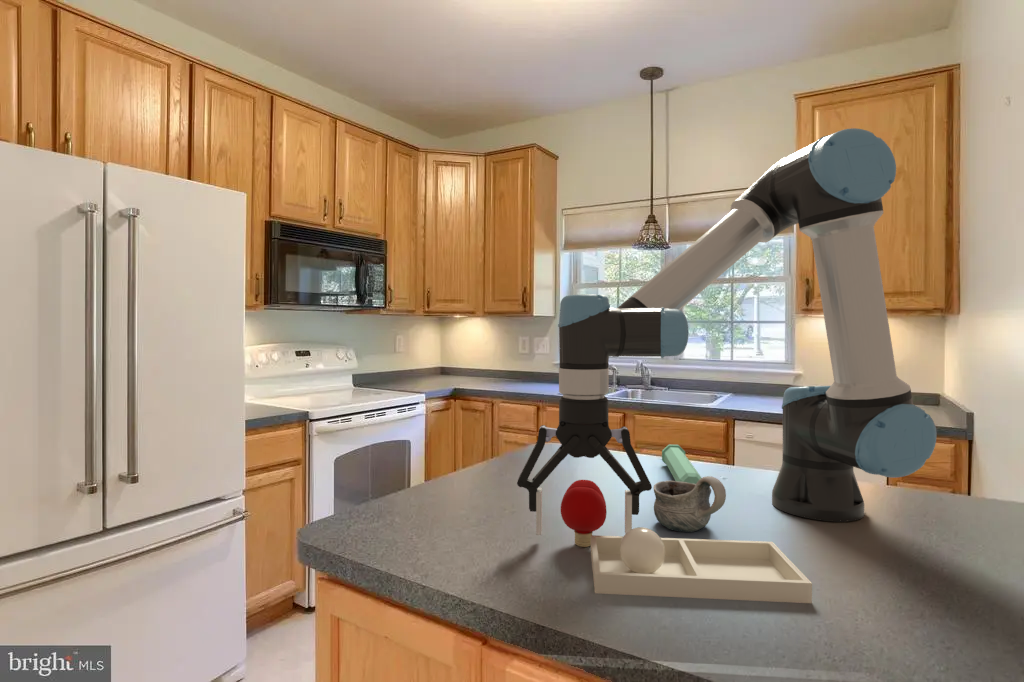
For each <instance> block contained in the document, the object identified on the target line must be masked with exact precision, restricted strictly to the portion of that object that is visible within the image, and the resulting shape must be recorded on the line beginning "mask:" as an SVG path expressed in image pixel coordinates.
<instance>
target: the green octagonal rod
mask: <svg viewBox="0 0 1024 682" xmlns="http://www.w3.org/2000/svg"><path fill="white" fill-rule="evenodd" d="M661 461H662V462H663V463H664V464H665V465H666V466H667V468H668V470H669V471H670V473H671V475H672V477H673V479H674V481H679V482H687V483H692V484H696V483H697V482H698V481H699V480H700V479H701V478H702V476H701V475H700V473H699V472H698V471H697V469H696V468H695V466H694V465H693V464H692V463H691V461H690V460H689V458H688V457H687V456H686V451H685V449H683V448H682V447H681V446H680V445H679V444H667V446H666V447H664V448H663V449H661Z"/></svg>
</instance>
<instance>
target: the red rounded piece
mask: <svg viewBox="0 0 1024 682" xmlns="http://www.w3.org/2000/svg"><path fill="white" fill-rule="evenodd" d="M560 514H561V516H560V517H561V518H562V520H563V522H564V525H566V527H568V528H569V529H571V530H572V531H574V544H575V545H577V546H578V547H581V548H588V547H591V535H593V532H596V531H597V530H599V529H600V528H601V527H602V526H604V524H605V522H606V519H607V502H606V499H605V496H604V494H603V491H602V490H601V488H600V487H599V486H598V485H597V484H596V483H595V482H594V481H592V480H588V479H578V480H576V481H574V482H572V483H571V484H570V485H569V486H568V488H567V489H566V490H565V493H564V495H563V497H562V500H561V504H560Z"/></svg>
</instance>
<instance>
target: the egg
mask: <svg viewBox="0 0 1024 682" xmlns="http://www.w3.org/2000/svg"><path fill="white" fill-rule="evenodd" d="M623 536H624V537H623V538H622V540H621V544H620V554H621V558H622V560H623V562H624V564H625V565H626V566H627V567H628V568H629V569H630V570H632V571H633V572H635V573H640V574H651V573H653V572H655V571H657V570H658V569H659V568H660V567H661V565H662V564H663V561H664V558H665V547H664V544H663V542H662V540H661V538H662V537H661V536H659V535H658V533H656V532H655V531H654V530H653V529H650V528H648V527H644V526H641V527H634V528H632V529H631V530H630V531H628V532H627V533H626V534H625V533H624V535H623Z"/></svg>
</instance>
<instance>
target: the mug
mask: <svg viewBox="0 0 1024 682" xmlns="http://www.w3.org/2000/svg"><path fill="white" fill-rule="evenodd" d="M712 491H713V494H714V499H713V502H712V504H711V503H710V496H711V493H712ZM726 492H727V491H726V488H725V486H724V484H723V482H722V481H721V480H720V479H719V478H717V477H714V476H711V475H710V476H702V477H701V479H700V480H699V481H698V482H697V483H696V484H692V483H687V482H679V481H675V480H664V481H659V482H658V481H657V482H656V483H654V485H653V493H654V496H655V499H654V503H653V505H654V506H653V513H654V515H655V518H656V520H657V522H658V523H659V524H661V525H662V526H663V527H665V528H666V529H669V530H672V531H673V532H674V531H677V532H681V533H682V532H683V533H694V532H697V531H699V530H701V529H702V528H705V527H706V526H707V524H709V521H710V519H711V516H712V514H714V513H716V512H719V510H720V509H721V508H722V507H723V506H724V505H725V502H726V500H727V493H726Z"/></svg>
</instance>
